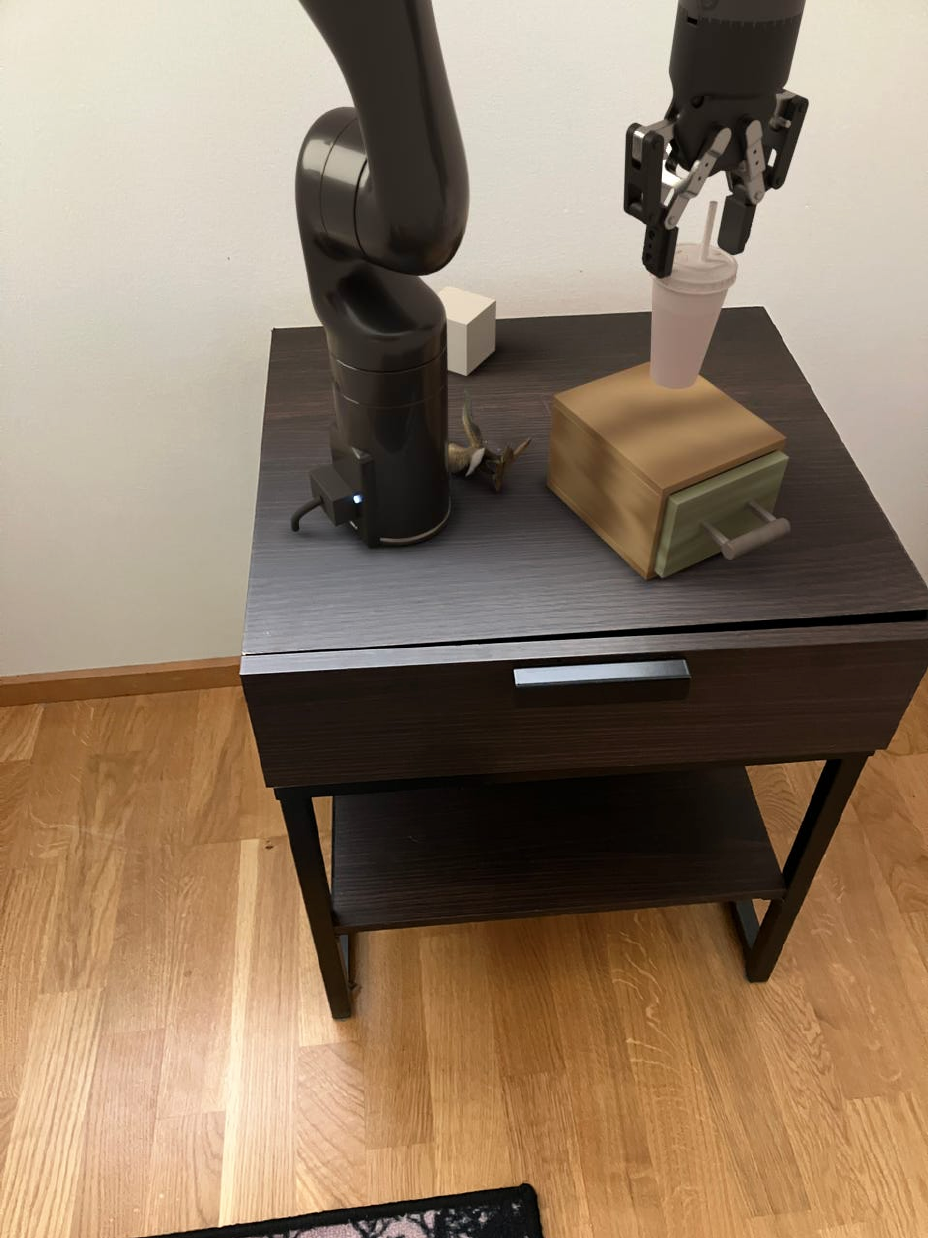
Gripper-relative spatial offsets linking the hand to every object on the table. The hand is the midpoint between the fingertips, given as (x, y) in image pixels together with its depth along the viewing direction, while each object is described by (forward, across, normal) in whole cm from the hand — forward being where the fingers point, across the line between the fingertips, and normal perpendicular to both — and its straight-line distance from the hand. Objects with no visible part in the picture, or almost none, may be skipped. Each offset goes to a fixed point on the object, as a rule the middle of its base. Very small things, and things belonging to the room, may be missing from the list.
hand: (693, 261), depth 70 cm
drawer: (+22, 0, +4) cm, 23 cm away
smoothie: (+10, 0, 0) cm, 10 cm away
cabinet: (+23, 0, 0) cm, 23 cm away
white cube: (+23, +2, -31) cm, 39 cm away
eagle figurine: (+23, +11, -13) cm, 29 cm away
